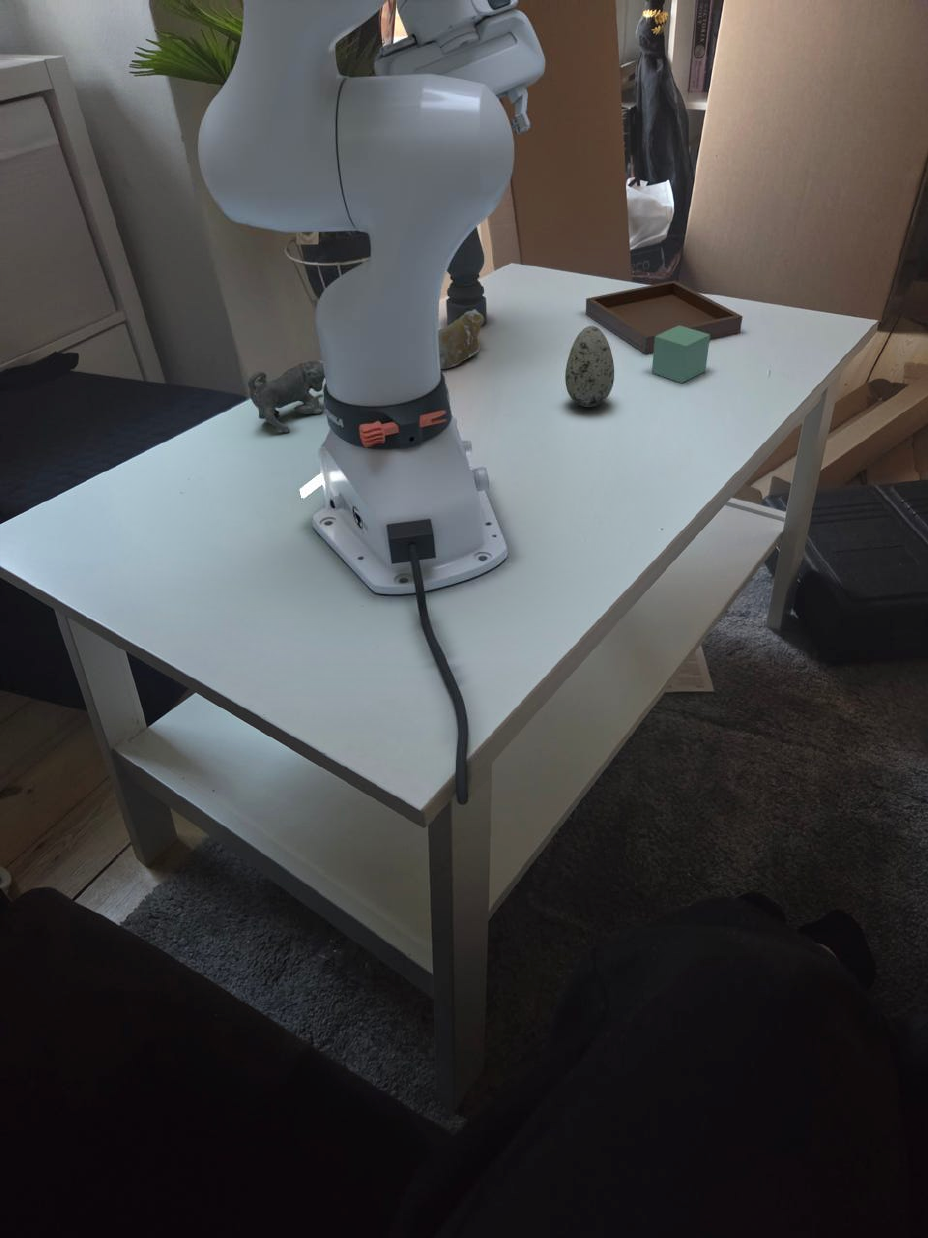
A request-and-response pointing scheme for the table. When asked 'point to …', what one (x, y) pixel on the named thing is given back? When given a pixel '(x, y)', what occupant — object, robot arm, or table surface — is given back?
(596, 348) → the decorative egg
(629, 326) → the tray
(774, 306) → the table surface
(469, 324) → the stone
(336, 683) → the table surface
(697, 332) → the green block
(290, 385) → the dog figurine
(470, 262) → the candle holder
